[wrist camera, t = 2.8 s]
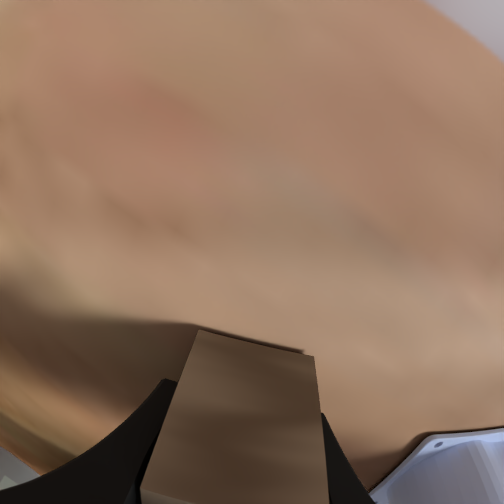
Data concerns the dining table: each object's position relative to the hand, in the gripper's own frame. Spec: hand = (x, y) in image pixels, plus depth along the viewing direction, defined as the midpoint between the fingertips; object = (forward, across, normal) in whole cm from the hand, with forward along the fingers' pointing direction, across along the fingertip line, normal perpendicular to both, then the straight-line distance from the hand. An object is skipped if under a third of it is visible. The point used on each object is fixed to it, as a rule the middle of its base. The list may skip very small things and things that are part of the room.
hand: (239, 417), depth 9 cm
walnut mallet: (+2, 0, +8) cm, 8 cm away
